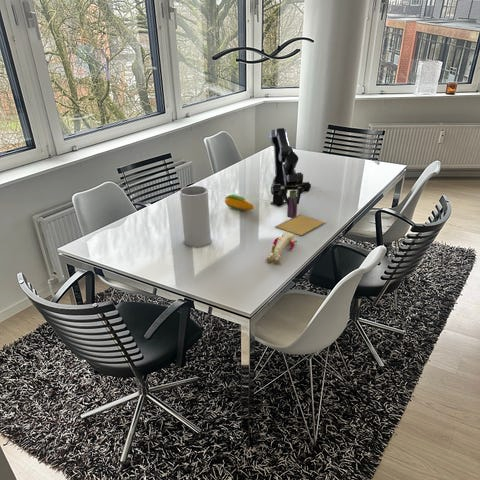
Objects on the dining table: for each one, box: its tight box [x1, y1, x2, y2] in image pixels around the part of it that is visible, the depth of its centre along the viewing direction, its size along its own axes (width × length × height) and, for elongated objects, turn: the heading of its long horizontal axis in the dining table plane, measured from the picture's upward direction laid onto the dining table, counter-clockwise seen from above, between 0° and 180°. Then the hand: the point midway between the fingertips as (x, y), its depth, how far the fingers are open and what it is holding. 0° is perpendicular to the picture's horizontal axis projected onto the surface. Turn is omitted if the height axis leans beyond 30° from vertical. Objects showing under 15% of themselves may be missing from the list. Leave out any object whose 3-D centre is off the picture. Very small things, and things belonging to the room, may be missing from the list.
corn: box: [224, 194, 255, 212], centre depth 248 cm, size 7×8×20 cm
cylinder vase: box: [179, 185, 212, 248], centre depth 211 cm, size 12×12×25 cm
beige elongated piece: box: [265, 231, 298, 265], centre depth 205 cm, size 10×9×25 cm
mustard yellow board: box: [275, 214, 325, 237], centre depth 231 cm, size 20×16×1 cm
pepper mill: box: [286, 190, 298, 219], centre depth 221 cm, size 5×5×12 cm
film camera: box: [295, 170, 304, 185], centre depth 279 cm, size 18×12×10 cm
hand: (293, 204), depth 220 cm, fingers closed on pepper mill, 5 cm apart
